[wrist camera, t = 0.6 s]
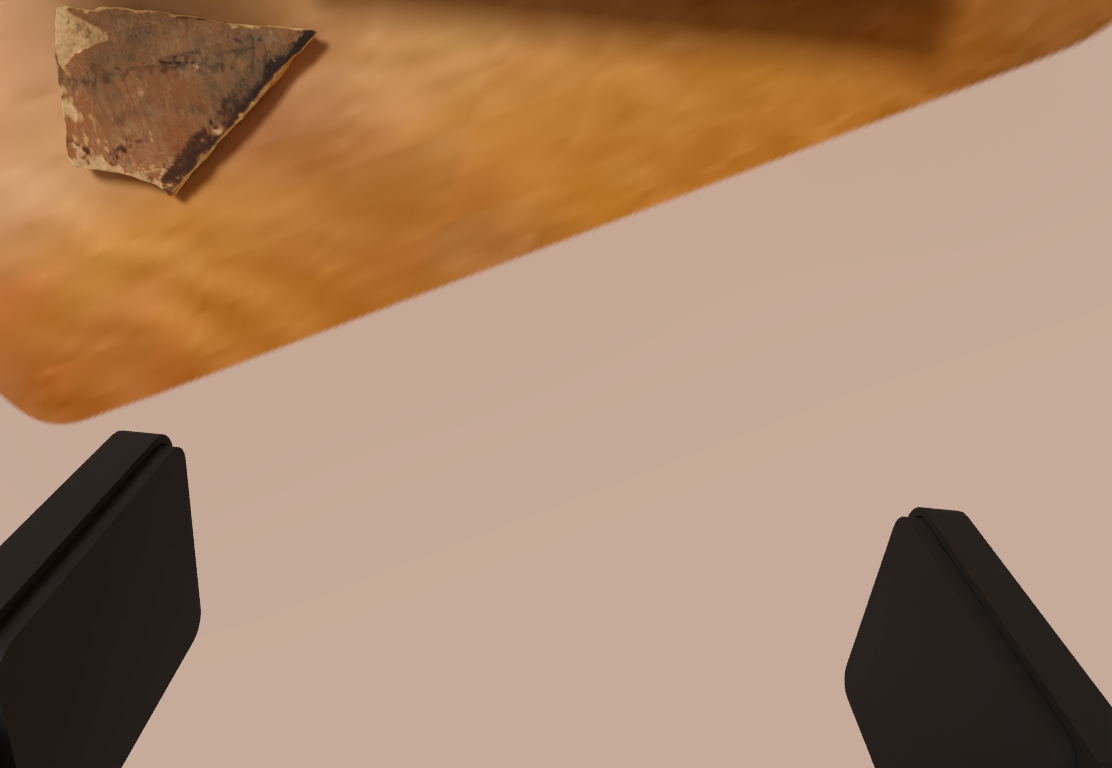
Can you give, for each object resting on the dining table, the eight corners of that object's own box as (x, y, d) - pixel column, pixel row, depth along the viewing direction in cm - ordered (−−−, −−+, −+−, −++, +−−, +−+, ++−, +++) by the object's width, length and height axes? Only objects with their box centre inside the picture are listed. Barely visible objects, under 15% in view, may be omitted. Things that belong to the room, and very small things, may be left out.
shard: (325, 29, 36) (314, 30, 34) (326, 205, 39) (315, 214, 37) (67, -2, 35) (43, -2, 34) (89, 179, 38) (68, 187, 37)
